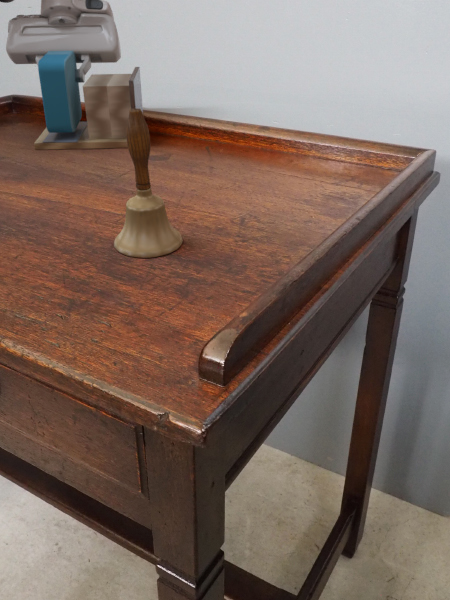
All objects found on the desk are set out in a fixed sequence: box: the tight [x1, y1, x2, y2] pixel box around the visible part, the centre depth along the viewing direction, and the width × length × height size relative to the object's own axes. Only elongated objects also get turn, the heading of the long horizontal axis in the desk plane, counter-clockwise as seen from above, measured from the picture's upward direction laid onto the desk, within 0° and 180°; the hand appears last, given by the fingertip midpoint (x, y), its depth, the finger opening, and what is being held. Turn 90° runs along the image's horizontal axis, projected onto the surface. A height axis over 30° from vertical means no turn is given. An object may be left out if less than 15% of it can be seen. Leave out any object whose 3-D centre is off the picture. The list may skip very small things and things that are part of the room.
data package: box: [37, 51, 83, 133], centre depth 109 cm, size 12×4×12 cm, turn 4°
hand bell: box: [113, 108, 184, 259], centre depth 71 cm, size 8×8×16 cm
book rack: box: [33, 66, 144, 151], centre depth 110 cm, size 18×13×11 cm
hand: (63, 81), depth 111 cm, fingers closed on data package, 4 cm apart
